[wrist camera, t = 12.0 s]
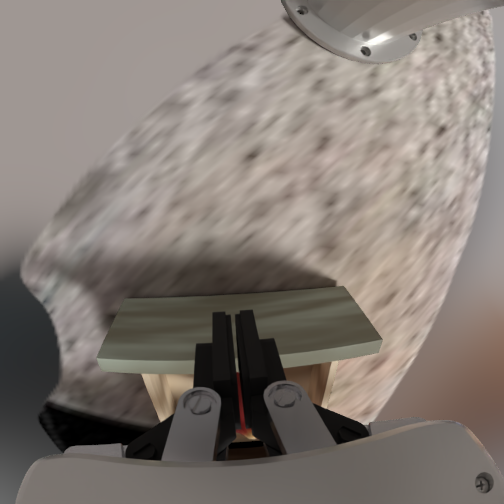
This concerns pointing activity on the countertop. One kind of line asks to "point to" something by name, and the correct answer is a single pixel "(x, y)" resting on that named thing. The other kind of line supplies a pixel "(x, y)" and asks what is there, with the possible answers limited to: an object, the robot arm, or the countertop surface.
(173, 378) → the drawer
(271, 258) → the countertop surface
